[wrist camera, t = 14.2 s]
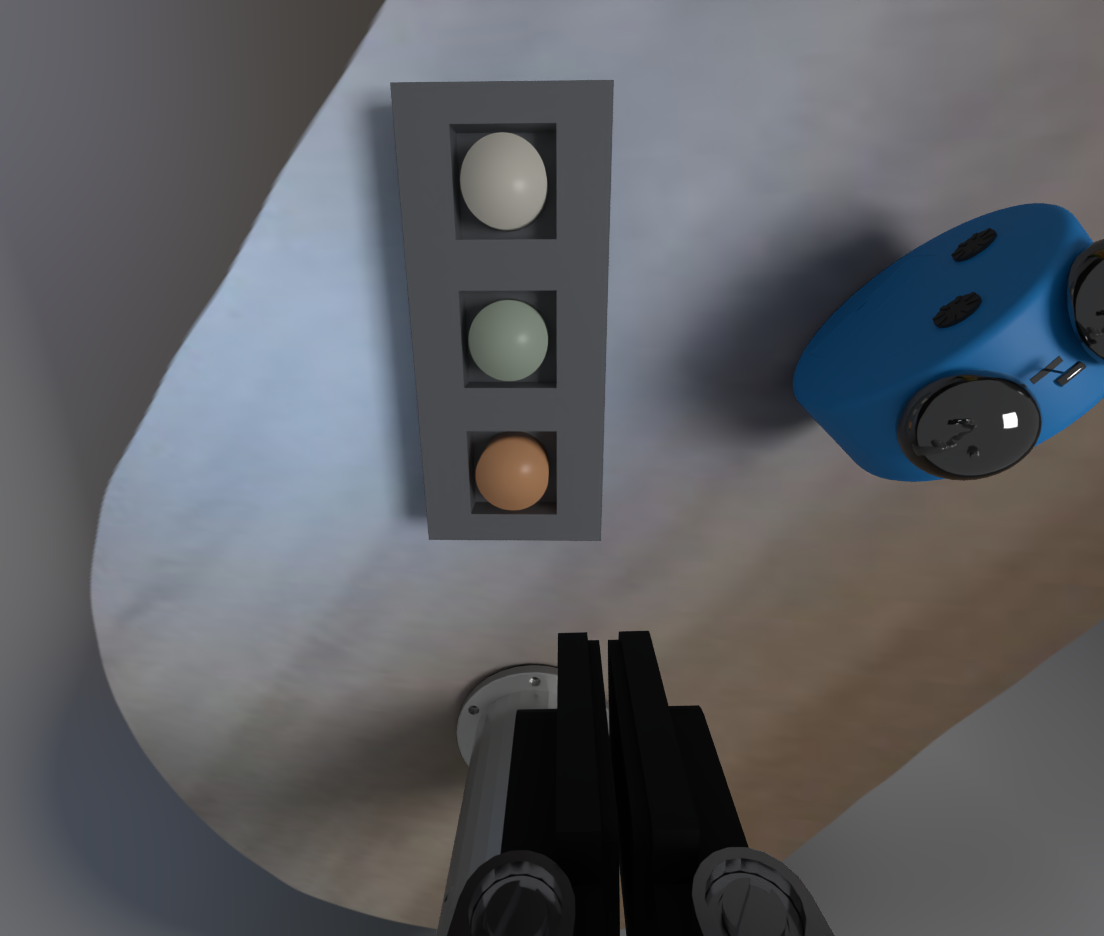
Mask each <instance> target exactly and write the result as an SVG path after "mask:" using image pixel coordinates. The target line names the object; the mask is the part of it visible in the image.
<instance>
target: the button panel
mask: <svg viewBox="0 0 1104 936" xmlns="http://www.w3.org/2000/svg"><path fill="white" fill-rule="evenodd" d="M390 86H391V98H392V109H393V121H394V133H395V145H396V157H397V168H398V180H399V192H400V204H401V216H402V227H403V239H404V251H405V263H406V275H407V286H408V298H409V310H410V322H411V334H412V345H413V357H414V369H415V381H416V393H417V404H418V416H419V428H420V440H421V452H422V463H423V475H424V487H425V499H426V511H427V522H428V534H429V540H569V541H601V517H602V481H603V445H604V409H605V373H606V338H607V302H608V266H609V230H610V194H611V158H612V123H613V87H614V80H576V81H488V82H399V83H390ZM499 132H506V133H512V134H515V135H518V136H520V137H522V138H524V139H525V140H526V141H528V142H529V143H530V144H531V145H532V146H533V147H534V148H535V149H536V151H537V152H538V154H539V155H540V157H541V159H542V161H543V164H544V167H545V172H546V177H547V182H548V195H547V200H546V204H545V206H544V209H543V211H542V212H541V214H540V216H539V217H538V218H537V219H536V220H535V221H534V222H533V223H532V224H531V225H529V226H528V227H526V228H524V229H522V230H519V231H515V232H504V231H499V230H496V229H494V228H492V227H490V226H488V225H487V224H485V223H483V222H482V221H480V220H479V219H478V218H477V217H476V216H475V215H474V214H473V213H472V212H471V211H470V209H469V208H468V206H467V204H466V202H465V200H464V198H463V195H462V191H461V184H460V174H461V168H462V164H463V161H464V158H465V156H466V154H467V153H468V151H469V150H470V148H471V147H472V146H473V145H474V144H475V143H476V142H477V141H478V140H480V139H481V138H483V137H485V136H487V135H489V134H493V133H499ZM503 299H519V300H522V301H525V302H527V303H529V304H531V305H532V306H534V307H535V308H536V309H537V310H538V311H539V312H540V313H541V315H542V316H543V318H544V320H545V322H546V324H547V327H548V333H549V341H548V347H547V351H546V355H545V357H544V359H543V362H542V363H541V365H540V366H539V367H538V368H537V370H536V371H534V372H533V373H532V374H531V375H529V376H527V377H525V378H523V379H520V380H516V381H502V380H498V379H495V378H493V377H491V376H489V375H487V374H486V373H485V372H483V371H482V370H481V369H480V368H479V367H478V366H477V364H476V363H475V361H474V359H473V357H472V355H471V352H470V348H469V331H470V327H471V325H472V322H473V320H474V319H475V317H476V316H477V315H478V313H479V312H480V311H481V310H482V309H484V308H485V307H486V306H488V305H490V304H492V303H495V302H497V301H500V300H503ZM507 431H522V432H526V433H528V434H530V435H532V436H534V437H536V438H537V439H538V440H539V441H540V442H541V443H542V444H543V446H544V447H545V449H546V451H547V453H548V457H549V477H548V484H547V488H546V490H545V492H544V494H543V496H542V497H541V498H540V499H539V500H538V501H537V502H536V503H535V504H533V505H532V506H530V507H528V508H525V509H522V510H505V509H501V508H498V507H496V506H494V505H492V504H491V503H490V502H488V501H487V500H486V499H485V498H484V497H483V495H482V494H481V492H480V491H479V489H478V486H477V483H476V467H477V464H478V462H479V460H480V457H481V455H482V453H483V451H484V449H485V447H486V445H487V444H488V443H489V441H490V440H491V439H493V438H494V437H495V436H497V435H499V434H501V433H503V432H507Z"/></svg>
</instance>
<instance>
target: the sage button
mask: <svg viewBox="0 0 1104 936" xmlns="http://www.w3.org/2000/svg"><path fill="white" fill-rule="evenodd" d="M548 341H549V333H548V327H547V324H546V322H545V320H544V318H543V316H542V315H541V313H540V312H539V311H538V310H537V309H536V308H535V307H534V306H532V305H531V304H529V303H527V302H525V301H522V300H519V299H503V300H500V301H497V302H495V303H492V304H490V305H488V306H486V307H485V308H484V309H482V310H481V311H480V312H479V313H478V315H477V316H476V317H475V319H474V320H473V322H472V325H471V327H470V331H469V348H470V352H471V355H472V357H473V359H474V361H475V363H476V364H477V366H478V367H479V368H480V369H481V370H482V371H483V372H485V373H486V374H487V375H489V376H491V377H493V378H495V379H498V380H502V381H516V380H520V379H523V378H525V377H527V376H529V375H531V374H532V373H533V372H534V371H536V370H537V368H538V367H539V366H540V365H541V363H542V362H543V359H544V357H545V355H546V351H547V347H548Z"/></svg>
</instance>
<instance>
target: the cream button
mask: <svg viewBox="0 0 1104 936" xmlns="http://www.w3.org/2000/svg"><path fill="white" fill-rule="evenodd" d="M460 184H461V191H462V195H463V198H464V200H465V202H466V204H467V206H468V208H469V209H470V211H471V212H472V213H473V214H474V215H475V216H476V217H477V218H478V219H479V220H480V221H482V222H483V223H485V224H487V225H488V226H490V227H492V228H494V229H496V230H499V231H504V232H515V231H519V230H522V229H524V228H526V227H528V226H529V225H531V224H532V223H533V222H534V221H535V220H536V219H537V218H538V217H539V216H540V214H541V212H542V211H543V209H544V206H545V204H546V200H547V195H548V182H547V177H546V172H545V167H544V164H543V161H542V159H541V157H540V155H539V154H538V152H537V151H536V149H535V148H534V147H533V146H532V145H531V144H530V143H529V142H528V141H526V140H525V139H524V138H522V137H520V136H518V135H515V134H512V133H506V132H499V133H493V134H489V135H487V136H485V137H483V138H481V139H480V140H478V141H477V142H476V143H475V144H474V145H473V146H472V147H471V148H470V150H469V151H468V153H467V154H466V156H465V158H464V161H463V164H462V168H461V174H460Z"/></svg>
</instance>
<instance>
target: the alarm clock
mask: <svg viewBox="0 0 1104 936" xmlns="http://www.w3.org/2000/svg"><path fill="white" fill-rule="evenodd" d="M793 391H794V395H795V397H796V399H797V401H798V402H799V403H800V404H801V406H802V407H803V408H804V409H805V410H806V411H807V412H808V413H809V414H810V415H811V416H812V417H813V418H814V419H815V420H816V421H817V422H818V423H819V425H820V426H821V427H822V428H823V429H824V430H825V431H826V432H827V433H828V434H829V435H830V436H831V437H832V438H833V439H834V440H835V441H836V442H837V444H838V445H839V446H840V447H841V448H842V449H843V450H844V451H845V452H846V453H847V454H848V455H849V456H850V457H851V458H852V459H853V460H854V461H855V463H856V464H857V465H859V466H860V467H861V468H862V469H864V470H865V471H867V472H869V473H871V474H873V475H875V476H878V477H881V478H885V479H890V480H897V481H910V482H917V481H931V480H939V479H950V480H963V481H964V480H977V479H982V478H987V477H990V476H993V475H996V474H999V473H1001V472H1003V471H1005V470H1008V469H1010V468H1011V467H1013V466H1014V465H1016V464H1017V463H1018V462H1020V461H1021V460H1022V459H1023V458H1024V457H1026V456H1027V455H1028V454H1029V453H1030V452H1031V450H1032V449H1033V447H1035V446H1036V445H1038V444H1040V443H1042V442H1044V441H1045V440H1047V439H1049V438H1051V437H1052V436H1054V435H1055V434H1057V433H1058V432H1060V431H1062V430H1063V429H1065V428H1066V427H1068V426H1069V425H1070V424H1072V423H1073V422H1075V421H1076V420H1077V419H1079V418H1080V417H1081V416H1083V415H1084V414H1085V413H1086V412H1088V411H1089V410H1090V409H1091V408H1092V407H1094V406H1095V405H1096V404H1097V403H1098V402H1099V401H1100V400H1101V399H1102V398H1103V397H1104V239H1102V240H1099V241H1096V242H1094V243H1093V241H1092V240H1091V239H1090V237H1089V236H1088V234H1087V233H1086V232H1085V230H1084V229H1083V227H1082V226H1081V225H1080V223H1079V222H1078V220H1077V219H1076V218H1075V217H1074V215H1073V214H1072V213H1070V212H1069V211H1068V210H1066V209H1064V208H1063V207H1060V206H1057V205H1051V204H1044V203H1033V204H1024V205H1018V206H1013V207H1009V208H1005V209H1001V210H998V211H994V212H991V213H988V214H985V215H983V216H980V217H977V218H975V219H972V220H970V221H968V222H965V223H963V224H961V225H959V226H957V227H954V228H952V229H950V230H948V231H946V232H944V233H942V234H941V235H939V236H937V237H935V238H933V239H931V240H930V241H928V242H926V243H924V244H923V245H921V246H919V247H918V248H916V249H914V250H913V251H911V252H910V253H908V254H907V255H905V256H903V257H902V258H900V259H899V260H897V261H896V262H895V263H893V264H892V265H890V266H889V267H887V268H886V269H885V270H883V271H882V272H881V273H879V274H878V275H877V276H875V277H874V278H873V279H872V280H870V281H869V282H868V283H867V284H865V285H864V286H863V287H862V288H860V289H859V290H858V291H857V292H856V293H855V294H853V295H852V296H851V297H850V298H849V299H848V300H847V301H846V302H845V303H844V304H843V305H842V306H841V307H840V308H838V309H837V310H836V312H835V313H834V314H833V315H832V316H831V317H830V318H829V319H828V320H827V321H826V322H825V323H824V324H823V326H822V327H821V328H820V329H819V330H818V332H817V333H816V334H815V336H814V337H813V338H812V339H811V341H810V342H809V344H808V345H807V347H806V349H805V350H804V352H803V354H802V356H801V358H800V360H799V362H798V364H797V366H796V369H795V372H794V377H793Z"/></svg>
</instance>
